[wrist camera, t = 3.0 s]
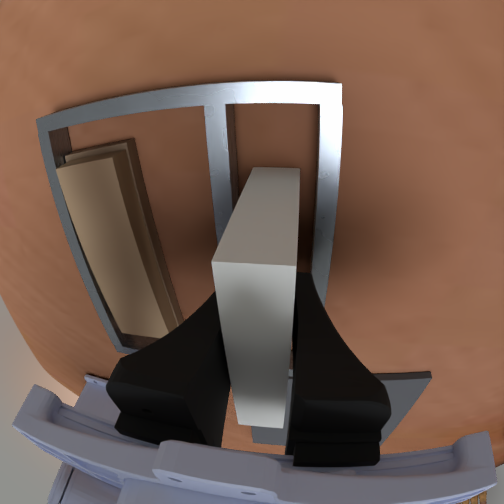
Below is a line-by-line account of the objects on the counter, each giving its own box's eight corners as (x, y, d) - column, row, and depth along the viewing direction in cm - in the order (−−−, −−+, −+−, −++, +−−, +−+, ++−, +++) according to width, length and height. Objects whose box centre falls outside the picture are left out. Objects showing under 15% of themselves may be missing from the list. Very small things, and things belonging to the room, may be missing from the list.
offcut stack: (135, 314, 21) (122, 339, 19) (78, 148, 14) (50, 164, 12) (187, 319, 20) (175, 347, 18) (138, 135, 13) (112, 150, 11)
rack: (124, 337, 22) (116, 351, 20) (53, 112, 12) (35, 119, 11) (312, 359, 20) (311, 377, 18) (338, 82, 10) (343, 84, 9)
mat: (253, 438, 29) (253, 442, 29) (247, 368, 21) (245, 375, 21) (380, 440, 27) (380, 445, 27) (430, 371, 19) (432, 378, 19)
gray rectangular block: (259, 317, 18) (238, 423, 12) (253, 166, 13) (211, 261, 7) (293, 319, 18) (282, 428, 12) (300, 168, 13) (296, 266, 7)
